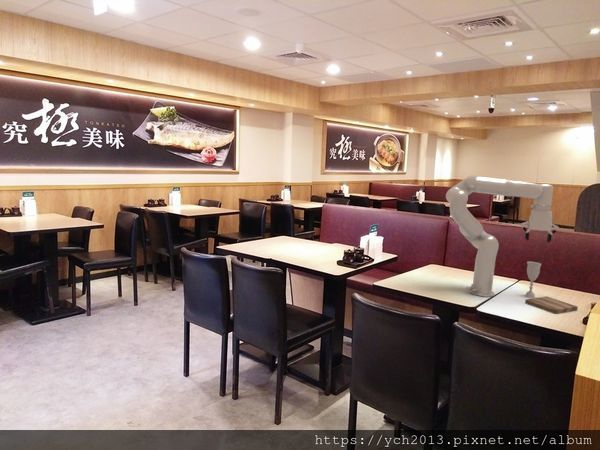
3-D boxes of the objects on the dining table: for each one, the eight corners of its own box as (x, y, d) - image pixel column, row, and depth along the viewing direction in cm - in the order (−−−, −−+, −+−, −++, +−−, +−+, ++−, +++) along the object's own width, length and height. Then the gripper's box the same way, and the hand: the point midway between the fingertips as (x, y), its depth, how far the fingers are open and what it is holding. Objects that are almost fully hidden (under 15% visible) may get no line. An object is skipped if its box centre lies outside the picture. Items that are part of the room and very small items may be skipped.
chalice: (539, 299, 221) (543, 265, 218) (525, 297, 222) (529, 264, 220) (534, 295, 228) (538, 262, 225) (520, 293, 229) (525, 261, 227)
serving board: (555, 314, 199) (556, 309, 199) (525, 303, 213) (525, 299, 213) (577, 310, 206) (577, 306, 206) (546, 300, 220) (546, 296, 220)
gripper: (524, 207, 217) (520, 240, 220) (562, 210, 212) (558, 244, 214) (522, 206, 224) (518, 238, 227) (559, 209, 219) (555, 241, 221)
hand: (537, 241), depth 221 cm, fingers open, 9 cm apart
